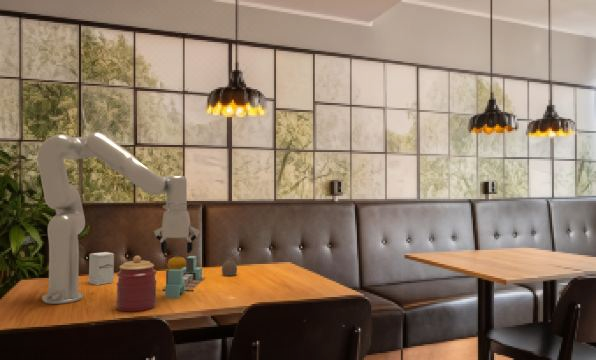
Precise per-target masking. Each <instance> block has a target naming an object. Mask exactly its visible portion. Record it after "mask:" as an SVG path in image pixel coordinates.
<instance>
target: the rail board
mask: <svg viewBox="0 0 596 360" xmlns="http://www.w3.org/2000/svg"><path fill="white" fill-rule="evenodd" d="M205 279H207V276H205V277H204V276H202V278H201V279H200V280H196V273H187V274H186V275H184V276H183V281H185V292H192V293H193V292H194V291H195V288H196V287H198V285H200V284H201V283H202V282H203V281H204V280H205ZM162 291H163V292H165V286H164V287H163V288H162Z"/></svg>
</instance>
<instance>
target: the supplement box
mask: <svg viewBox="0 0 596 360" xmlns="http://www.w3.org/2000/svg"><path fill="white" fill-rule="evenodd" d="M88 258H89V261H88V264H89V266H88V267H89V268H88V283H89V284H91V285H95V286H99V285H100V286H101V285H105V284H111V283H112V284H113V283H114V275H115V274H114V273H115V272H114V270H115V269H114V267H115V266H114V265H115V253H113V252H109V251H104V252H94V253H89V256H88Z"/></svg>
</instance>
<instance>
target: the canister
mask: <svg viewBox="0 0 596 360" xmlns="http://www.w3.org/2000/svg"><path fill="white" fill-rule="evenodd" d="M118 267H119V269H120V270H119V271H118V272H117V273H116V276H117V277H118V278H117V282H116V304H115V305H116V308H117V310H119V311H121V312H122V311H123V312H140V311H141V312H142V311H146V310H150V309H153V308H155V306H156V305H157V280H156V274H157V273H158V272H157V270H155V269H154V267H155V264H154V263H152V262H151V261H150V260H144V259H143V260H142V257H141V256H140V255H135V256H134V257H132V260H129V261H126V262H125V261H124V263H122V264H121V265H120V266H118Z"/></svg>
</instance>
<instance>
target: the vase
mask: <svg viewBox="0 0 596 360" xmlns="http://www.w3.org/2000/svg"><path fill="white" fill-rule="evenodd" d="M221 273H222V276H223V277H235V276H236V275H237V273H238V266H237V264H236V262H235V261H234V259H233V258H232V257H227V258H226V260H225V261H224V262H223V264H222V266H221Z"/></svg>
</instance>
